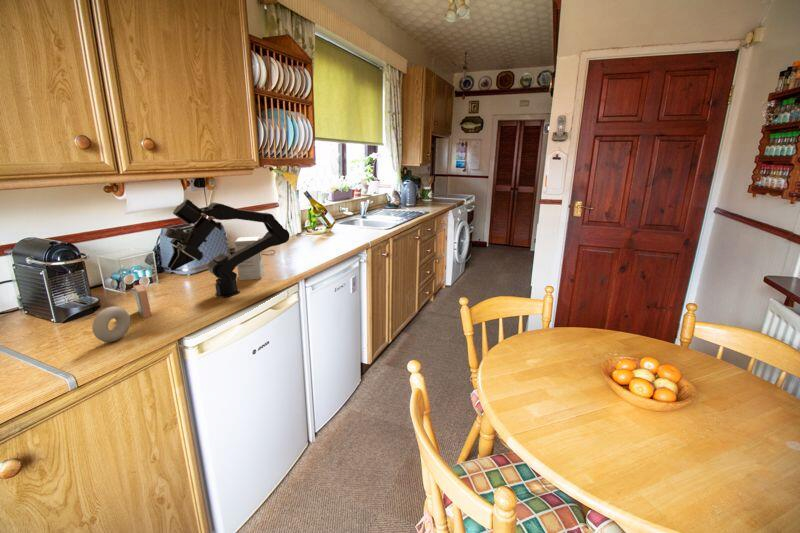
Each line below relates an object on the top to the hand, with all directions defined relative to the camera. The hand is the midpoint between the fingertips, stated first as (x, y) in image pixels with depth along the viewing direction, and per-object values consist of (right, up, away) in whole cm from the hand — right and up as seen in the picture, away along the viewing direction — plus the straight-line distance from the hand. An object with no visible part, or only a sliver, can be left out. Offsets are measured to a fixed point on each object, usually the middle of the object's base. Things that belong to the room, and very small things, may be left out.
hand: (169, 268), depth 128 cm
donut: (-2, -20, -21) cm, 29 cm away
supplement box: (+14, -4, +36) cm, 39 cm away
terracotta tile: (-7, -15, -2) cm, 17 cm away
